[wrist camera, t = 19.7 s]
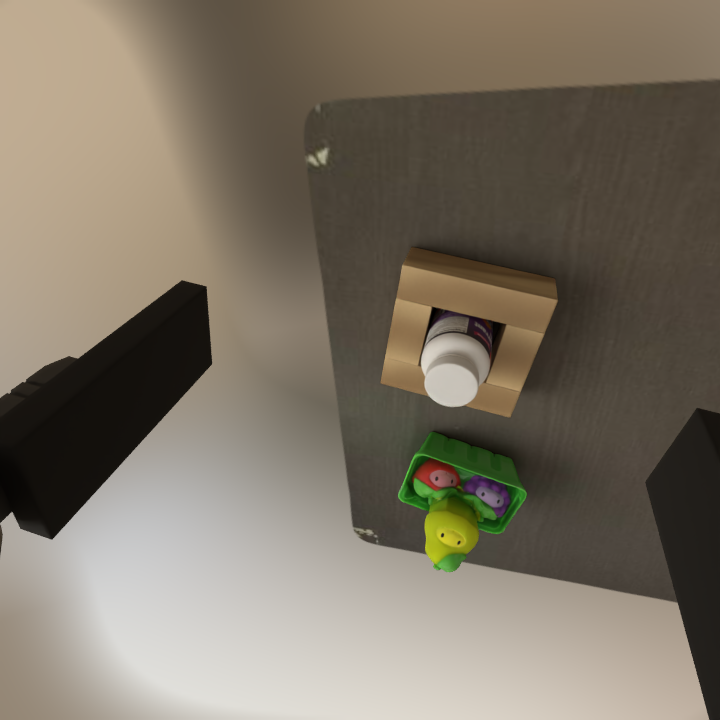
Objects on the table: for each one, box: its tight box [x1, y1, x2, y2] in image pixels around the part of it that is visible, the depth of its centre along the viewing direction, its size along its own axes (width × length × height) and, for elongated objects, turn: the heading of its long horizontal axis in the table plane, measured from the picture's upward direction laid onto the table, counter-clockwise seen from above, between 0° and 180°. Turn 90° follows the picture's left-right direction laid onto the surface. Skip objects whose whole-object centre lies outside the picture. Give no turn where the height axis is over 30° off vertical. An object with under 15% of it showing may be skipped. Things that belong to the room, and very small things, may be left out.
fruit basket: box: [398, 432, 527, 572], centre depth 49 cm, size 11×9×11 cm
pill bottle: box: [421, 308, 493, 407], centre depth 40 cm, size 5×5×10 cm
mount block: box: [381, 247, 558, 418], centre depth 43 cm, size 12×12×4 cm
